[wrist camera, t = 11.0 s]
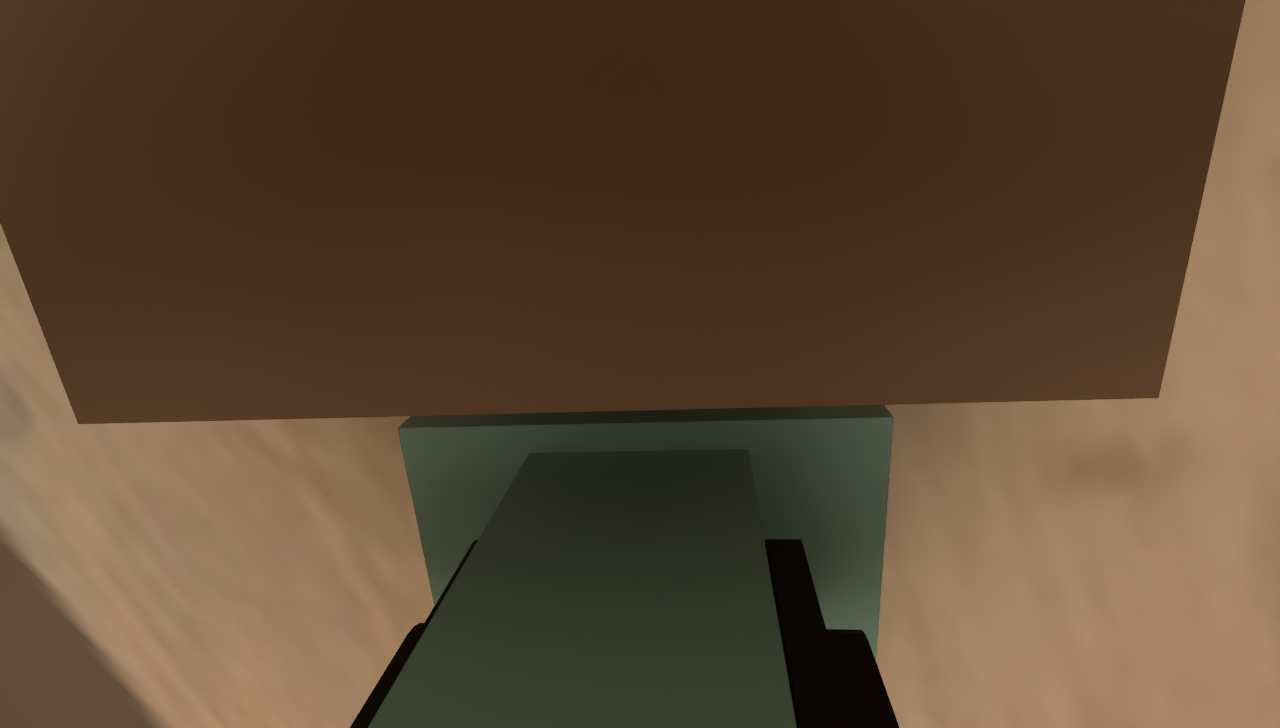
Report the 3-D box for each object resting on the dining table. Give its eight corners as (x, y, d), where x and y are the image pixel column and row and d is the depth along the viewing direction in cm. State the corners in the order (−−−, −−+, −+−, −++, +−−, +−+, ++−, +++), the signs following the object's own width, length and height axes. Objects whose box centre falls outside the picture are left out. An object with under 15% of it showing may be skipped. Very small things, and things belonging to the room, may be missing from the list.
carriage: (435, 395, 11) (11, 768, 4) (867, 383, 11) (1204, 823, 4) (480, 647, 13) (233, 1195, 6) (852, 654, 12) (1053, 1297, 5)
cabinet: (395, 11, 11) (-197, -286, 4) (885, -38, 10) (1365, -559, 3) (439, 273, 13) (78, 424, 5) (869, 250, 12) (1157, 397, 4)
